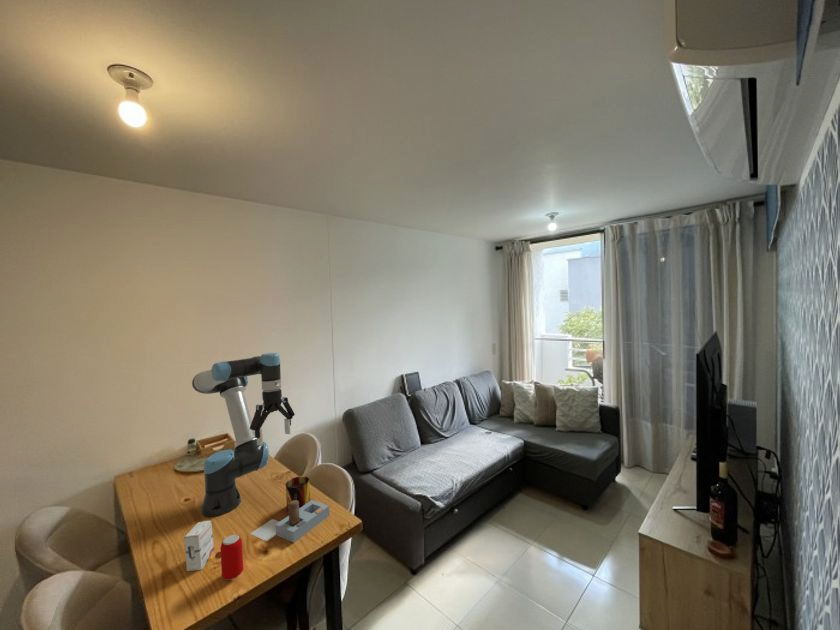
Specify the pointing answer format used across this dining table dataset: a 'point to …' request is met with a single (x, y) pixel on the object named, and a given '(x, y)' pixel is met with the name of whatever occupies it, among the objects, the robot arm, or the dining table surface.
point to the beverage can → (231, 557)
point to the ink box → (198, 545)
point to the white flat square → (266, 530)
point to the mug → (298, 490)
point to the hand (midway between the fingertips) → (274, 439)
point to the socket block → (303, 521)
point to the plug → (293, 513)
